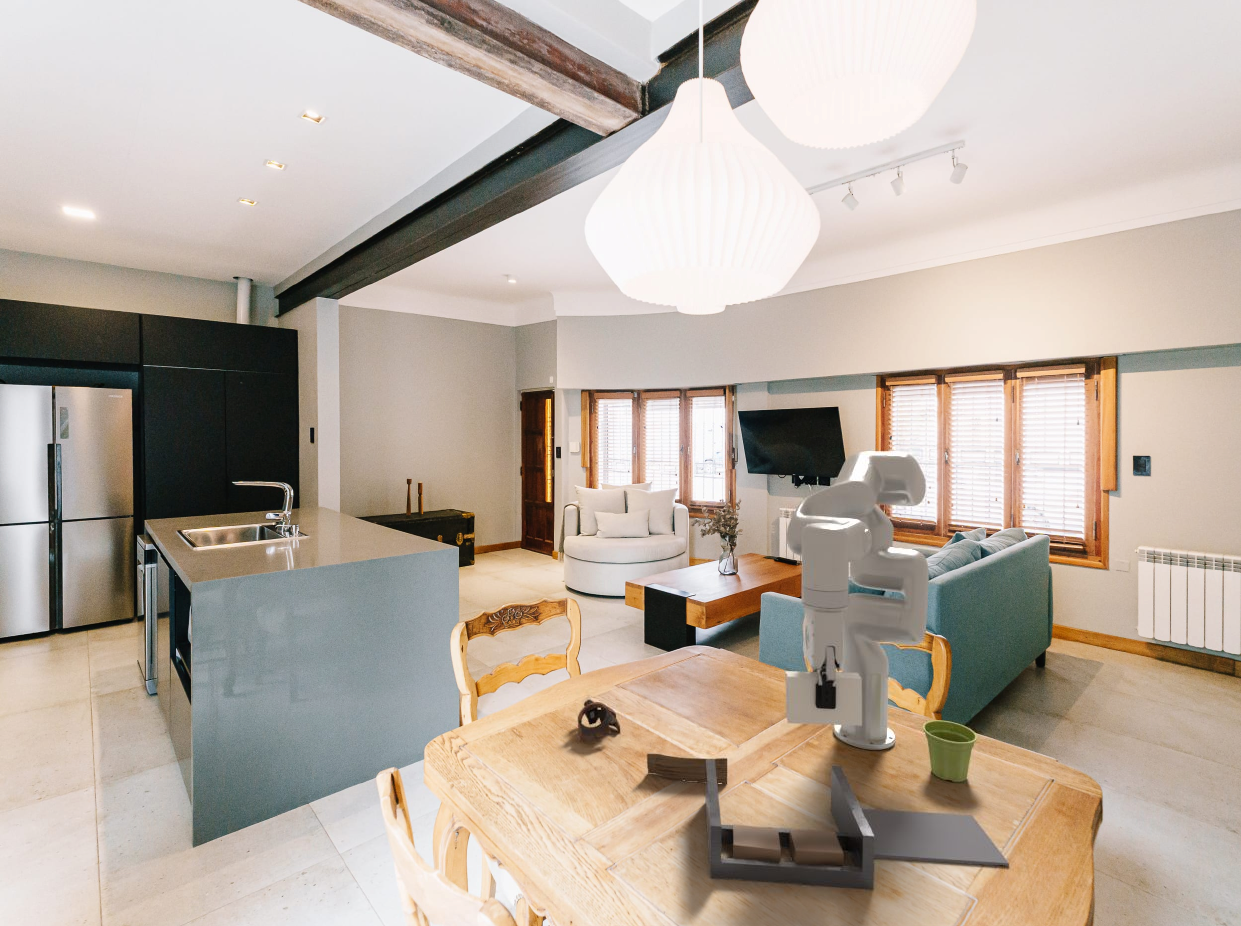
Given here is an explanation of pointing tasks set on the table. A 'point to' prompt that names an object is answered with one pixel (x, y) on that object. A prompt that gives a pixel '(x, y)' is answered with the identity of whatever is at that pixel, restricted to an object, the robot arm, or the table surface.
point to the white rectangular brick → (804, 697)
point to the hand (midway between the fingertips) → (823, 702)
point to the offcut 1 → (756, 843)
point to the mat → (931, 837)
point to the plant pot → (949, 749)
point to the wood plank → (685, 768)
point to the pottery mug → (593, 714)
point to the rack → (851, 837)
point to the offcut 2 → (815, 847)
